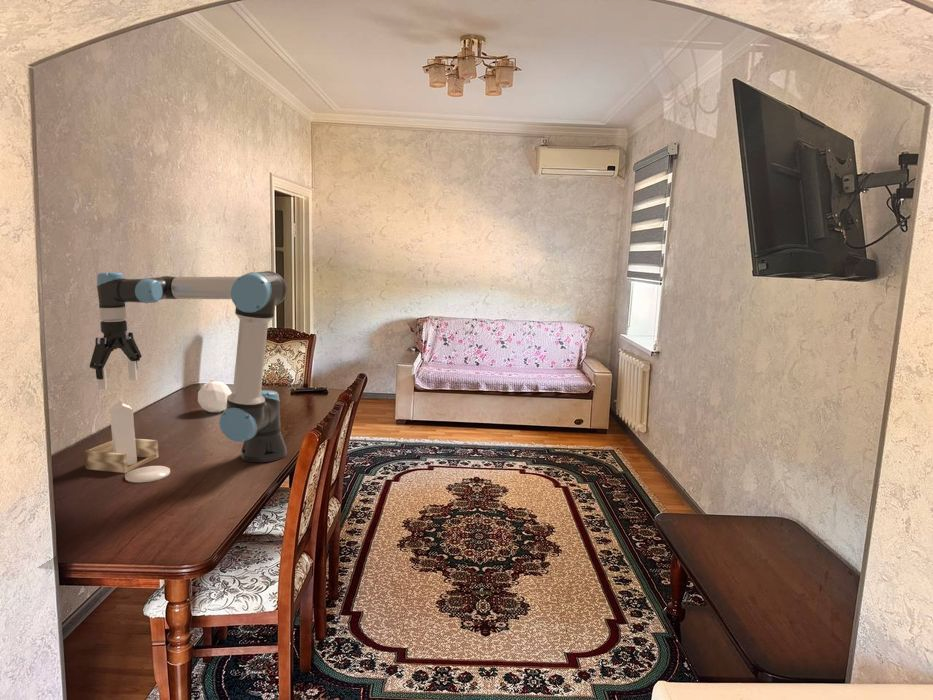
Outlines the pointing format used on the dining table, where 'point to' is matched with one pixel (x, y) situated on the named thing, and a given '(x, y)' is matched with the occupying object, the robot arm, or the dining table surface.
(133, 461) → the milk
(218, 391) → the geodesic sphere
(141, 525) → the dining table surface
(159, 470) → the cream flat disc
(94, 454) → the shelf bay
